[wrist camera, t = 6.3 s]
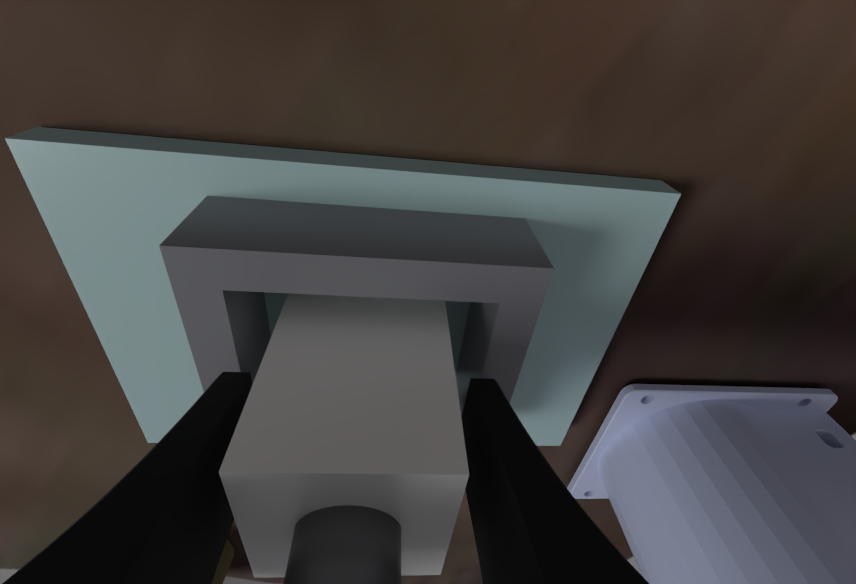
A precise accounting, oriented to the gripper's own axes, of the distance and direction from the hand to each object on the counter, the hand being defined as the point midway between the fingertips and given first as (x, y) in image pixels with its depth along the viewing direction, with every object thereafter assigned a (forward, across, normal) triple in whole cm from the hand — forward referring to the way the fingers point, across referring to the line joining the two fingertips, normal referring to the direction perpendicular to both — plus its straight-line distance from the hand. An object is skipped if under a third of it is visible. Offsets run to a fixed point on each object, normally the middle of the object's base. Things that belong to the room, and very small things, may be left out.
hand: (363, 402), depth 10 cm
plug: (+3, 0, 0) cm, 3 cm away
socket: (+4, 0, 0) cm, 4 cm away
